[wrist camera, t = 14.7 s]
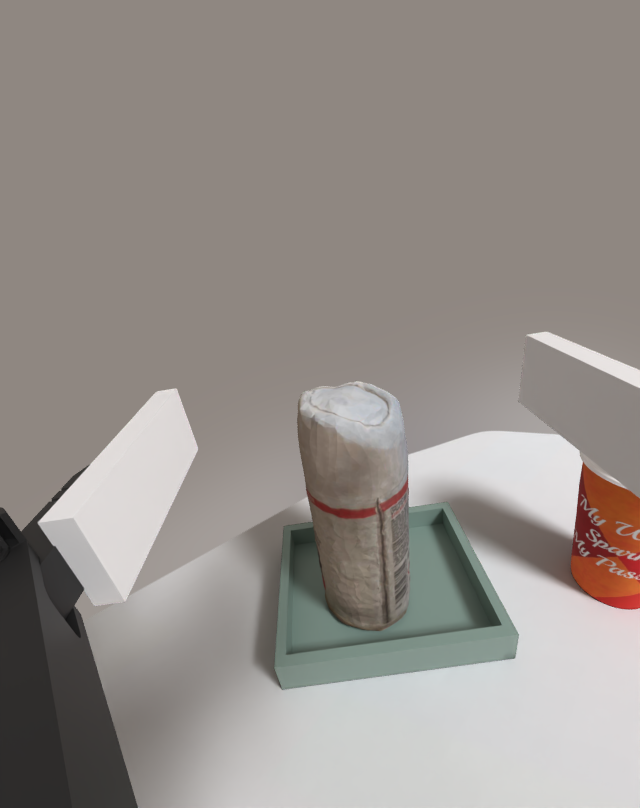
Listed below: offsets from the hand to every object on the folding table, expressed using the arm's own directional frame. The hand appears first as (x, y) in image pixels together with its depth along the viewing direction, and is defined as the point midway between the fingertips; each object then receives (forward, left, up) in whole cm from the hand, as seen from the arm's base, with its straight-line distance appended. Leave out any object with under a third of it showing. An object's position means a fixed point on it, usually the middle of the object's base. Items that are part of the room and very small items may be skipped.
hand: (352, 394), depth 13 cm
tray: (+1, +10, -25) cm, 27 cm away
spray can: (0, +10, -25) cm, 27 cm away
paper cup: (+21, +8, -26) cm, 34 cm away
